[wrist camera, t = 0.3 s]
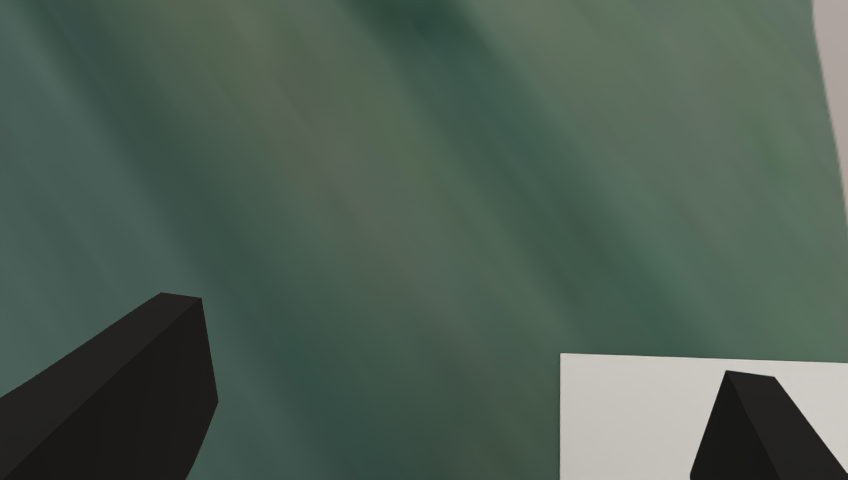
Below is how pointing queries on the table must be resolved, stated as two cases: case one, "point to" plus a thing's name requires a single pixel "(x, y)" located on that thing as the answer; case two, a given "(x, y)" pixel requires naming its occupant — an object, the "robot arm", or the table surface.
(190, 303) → the robot arm
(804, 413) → the mat
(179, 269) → the table surface
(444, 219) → the table surface
